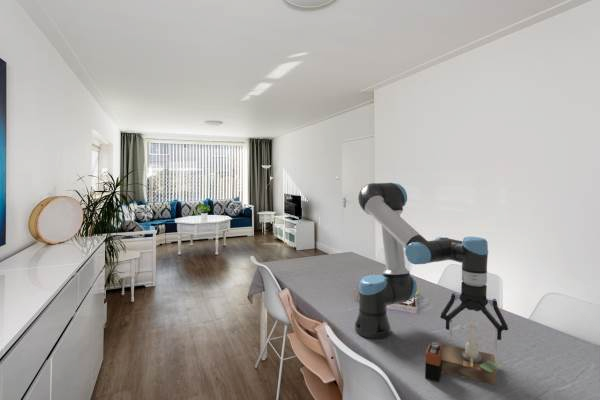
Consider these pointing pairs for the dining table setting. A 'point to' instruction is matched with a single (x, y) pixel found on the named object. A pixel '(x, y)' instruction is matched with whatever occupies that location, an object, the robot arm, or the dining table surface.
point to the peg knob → (472, 346)
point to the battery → (433, 362)
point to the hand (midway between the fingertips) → (472, 343)
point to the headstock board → (468, 364)
